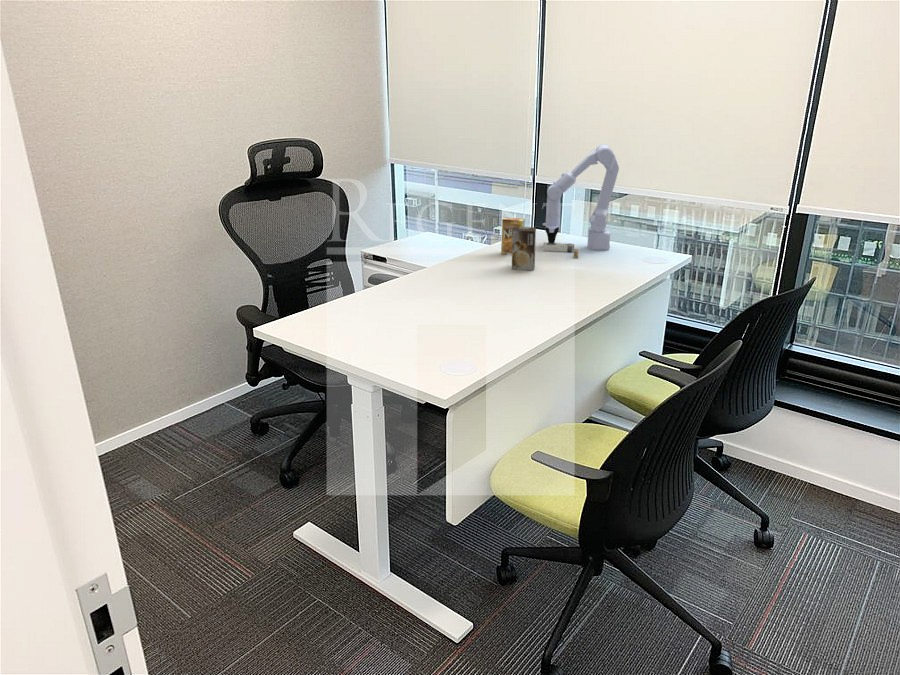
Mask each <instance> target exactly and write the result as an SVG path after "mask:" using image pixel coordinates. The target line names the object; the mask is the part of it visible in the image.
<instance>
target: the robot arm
mask: <svg viewBox="0 0 900 675" xmlns="http://www.w3.org/2000/svg"><path fill="white" fill-rule="evenodd" d="M599 163H600V164H602V165H603V167H604V168H605V170H606V171H605V175H604V177H603V182H602V185H601V189H600V192H599V196H598V198H597V199H598V200H597V202H596V206H595V208H594V210H593V213H592V214H591V215H590V216H589V223H590V226H589V227H588V231H587V232H588V233H587V244H586V246H587V249H589V250H591V251H592V250H593V251H609V250H610V248H611V243H610V242H611V230H607V229H606V227H607V222H606V219H607V213H608V209H609V204H610V201H611V197H612V194H613V191H614V188H615V184H616V180H617V178H618V174H619V171H620V167H619V164H618V161H617V158H616V155H615V153H614V151H613V150H612V148H611V147H610V146H609V145H607V144H599V145H598V146H597V147H596V149H593V150H591V151H590V152H589V153H588V154H587V156H585V157H584V158H583V159H582V160H581V161H580V162H579V163H578V164H577V165H576V166H575V167H574V168H572V170H571V171H566V172H565V173H564V172H563V173H561V175H560V177H559V178H558V179H557V180H555V181H553V182H552V184H551V185H550V186H548V188H547V191H546V194H547V199H546V201H547V202H546V212H545V213H546V214H545V222H544V223H542V226H543V227H544V226H545V229H544V230H545V233H546V235H547V236H546V237H547V240H548V241H547V243H556V238H557V234H558V233H559V231H560V230H559V228H560V216H561V198H562V195H563V193H566V192H567V191H568V190H569V189H570V188H571V187H572V186H573V185H575V183H576V182H577V181H576V180H577V177H578V176H580V175H581V174H583V172H585V171H586V170H587V169H588V168H589V167H590V166H592V165H598V164H599Z"/></svg>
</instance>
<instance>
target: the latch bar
mask: <svg viewBox="0 0 900 675" xmlns="http://www.w3.org/2000/svg"><path fill="white" fill-rule="evenodd" d="M574 249H575V244H574V243H566V242H565V243H563V242H562V243H561V242H554V243H548V242H543V252H561V253H574Z"/></svg>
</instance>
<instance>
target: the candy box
mask: <svg viewBox="0 0 900 675" xmlns="http://www.w3.org/2000/svg"><path fill="white" fill-rule="evenodd" d="M525 221H526V219H525V218H519V217H518V218H517V217H506V216H504V217H503V218H502V219H501V222H502V223H501V244H500V246H501V250H500V253H501V255H507V254H508V253H511V254H512V236H513V228H514V227H525Z"/></svg>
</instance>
